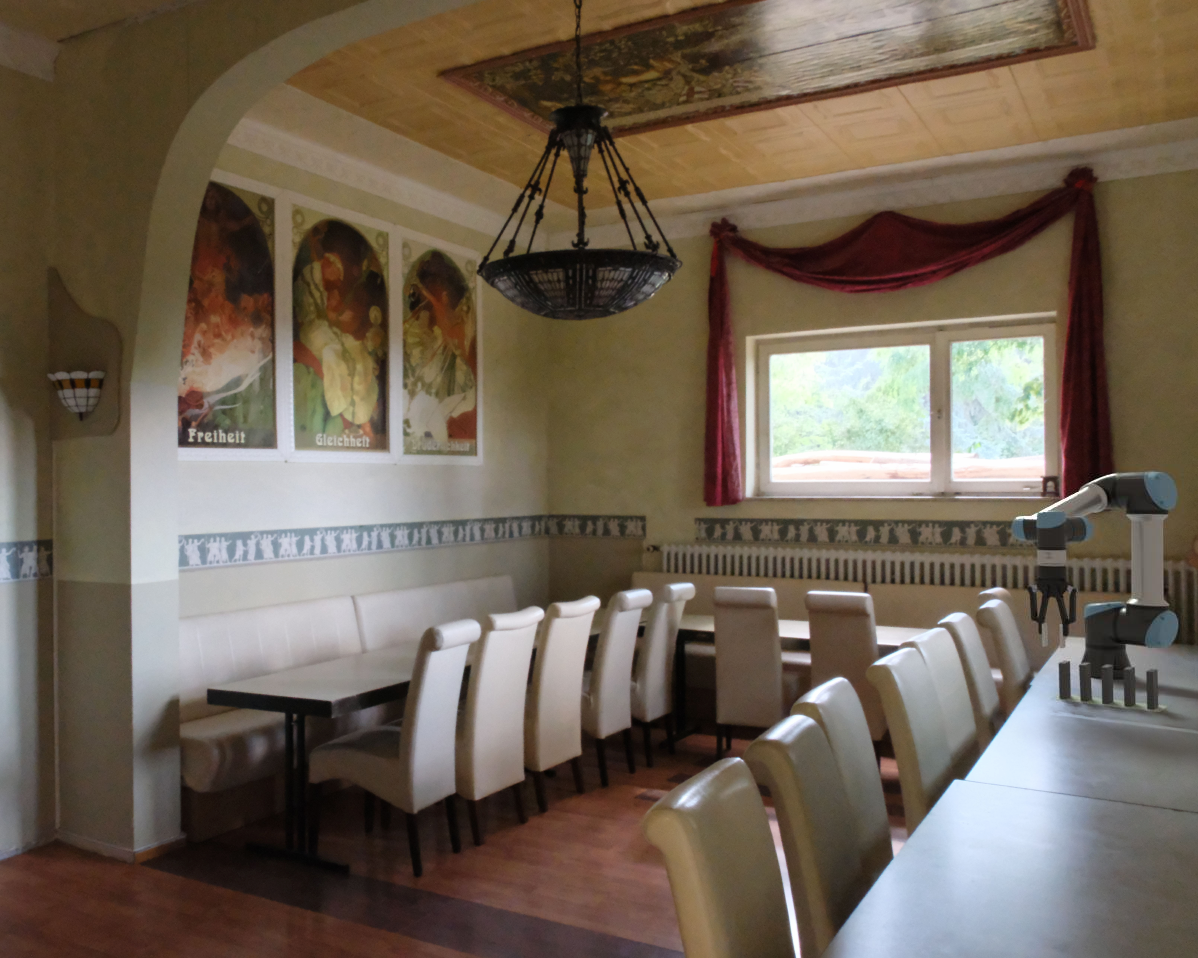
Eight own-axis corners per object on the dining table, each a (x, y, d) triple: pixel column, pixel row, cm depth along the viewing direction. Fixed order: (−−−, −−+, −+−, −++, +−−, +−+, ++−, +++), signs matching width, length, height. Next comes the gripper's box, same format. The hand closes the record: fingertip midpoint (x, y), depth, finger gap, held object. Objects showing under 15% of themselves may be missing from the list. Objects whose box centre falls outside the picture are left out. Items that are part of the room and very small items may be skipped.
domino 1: (1064, 695, 277) (1064, 660, 277) (1070, 696, 276) (1070, 660, 276) (1059, 698, 274) (1058, 662, 274) (1065, 699, 272) (1064, 663, 273)
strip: (1060, 695, 280) (1060, 693, 280) (1167, 708, 262) (1167, 706, 262) (1051, 700, 273) (1050, 698, 273) (1159, 714, 255) (1159, 711, 255)
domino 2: (1085, 697, 274) (1084, 662, 274) (1091, 698, 273) (1090, 662, 273) (1080, 700, 270) (1078, 664, 270) (1086, 701, 269) (1085, 665, 269)
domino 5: (1151, 705, 263) (1150, 668, 263) (1158, 706, 262) (1157, 669, 262) (1147, 708, 259) (1146, 671, 259) (1153, 709, 258) (1153, 671, 258)
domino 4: (1129, 702, 266) (1128, 666, 267) (1135, 703, 265) (1134, 667, 266) (1124, 706, 263) (1123, 669, 263) (1130, 706, 262) (1130, 669, 262)
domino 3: (1107, 700, 270) (1106, 664, 270) (1113, 701, 269) (1112, 664, 269) (1102, 703, 266) (1101, 666, 266) (1108, 704, 265) (1107, 667, 265)
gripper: (1016, 564, 280) (1018, 645, 280) (1080, 566, 269) (1082, 651, 269) (1024, 562, 286) (1026, 642, 285) (1087, 564, 275) (1089, 647, 274)
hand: (1053, 646), depth 277 cm, fingers open, 4 cm apart
